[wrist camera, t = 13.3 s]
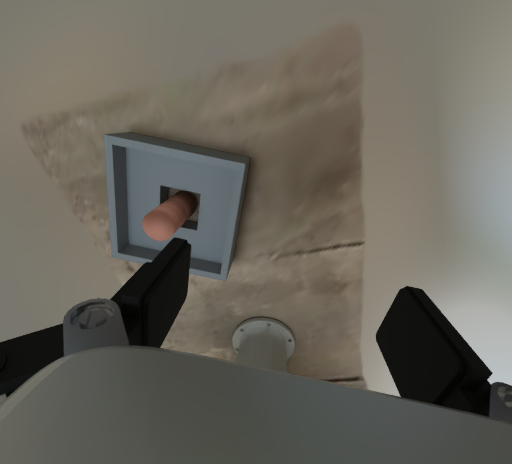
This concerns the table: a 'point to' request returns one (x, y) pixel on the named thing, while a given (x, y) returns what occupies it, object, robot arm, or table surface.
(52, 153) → the table surface
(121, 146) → the tray
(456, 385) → the robot arm
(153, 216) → the peg
